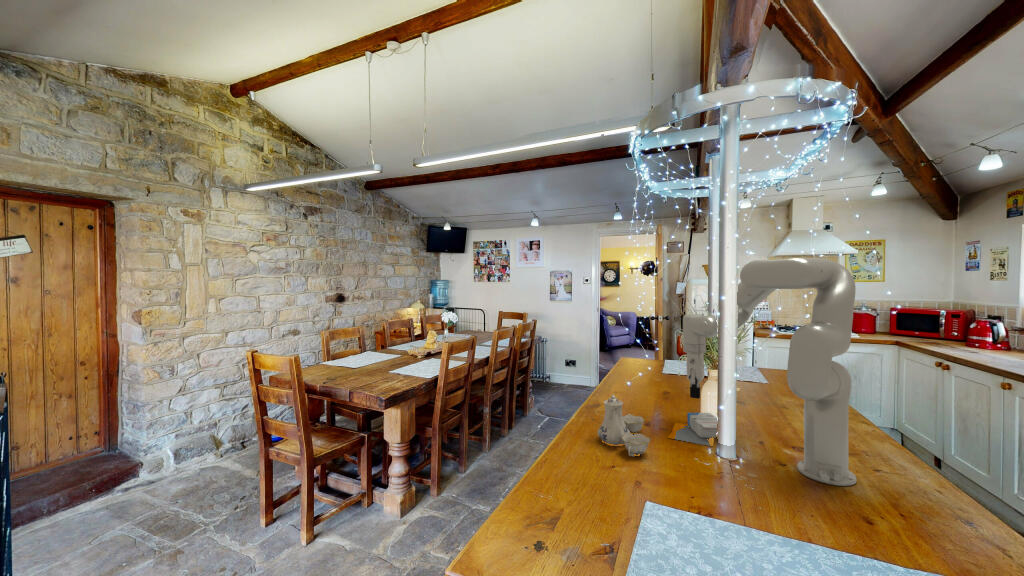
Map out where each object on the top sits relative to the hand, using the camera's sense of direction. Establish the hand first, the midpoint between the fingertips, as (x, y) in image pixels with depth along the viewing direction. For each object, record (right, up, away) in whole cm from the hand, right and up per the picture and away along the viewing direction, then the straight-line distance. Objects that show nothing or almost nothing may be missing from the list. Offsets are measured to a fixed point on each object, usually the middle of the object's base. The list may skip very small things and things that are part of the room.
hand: (695, 397), depth 142 cm
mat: (-4, -11, -6) cm, 13 cm away
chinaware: (-30, -12, -12) cm, 34 cm away
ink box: (+2, -8, +1) cm, 9 cm away
